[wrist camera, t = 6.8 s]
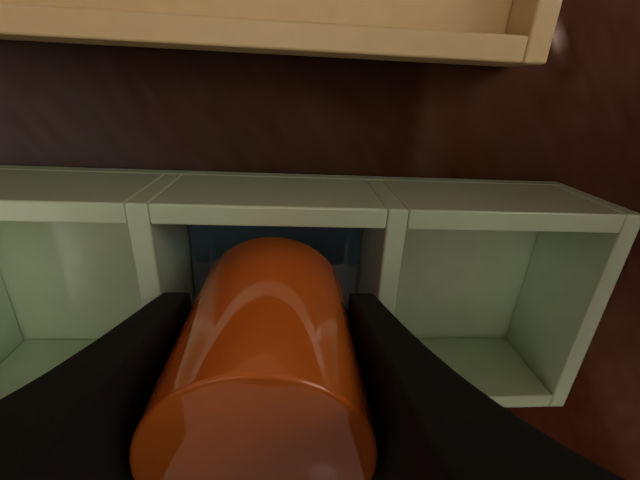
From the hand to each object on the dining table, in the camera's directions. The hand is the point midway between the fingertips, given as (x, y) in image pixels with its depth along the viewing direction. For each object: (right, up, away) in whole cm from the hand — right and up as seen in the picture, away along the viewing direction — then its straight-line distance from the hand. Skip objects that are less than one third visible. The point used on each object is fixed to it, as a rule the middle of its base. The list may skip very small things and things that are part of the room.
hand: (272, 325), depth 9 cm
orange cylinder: (0, 0, +1) cm, 1 cm away
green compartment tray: (0, +1, +3) cm, 3 cm away
